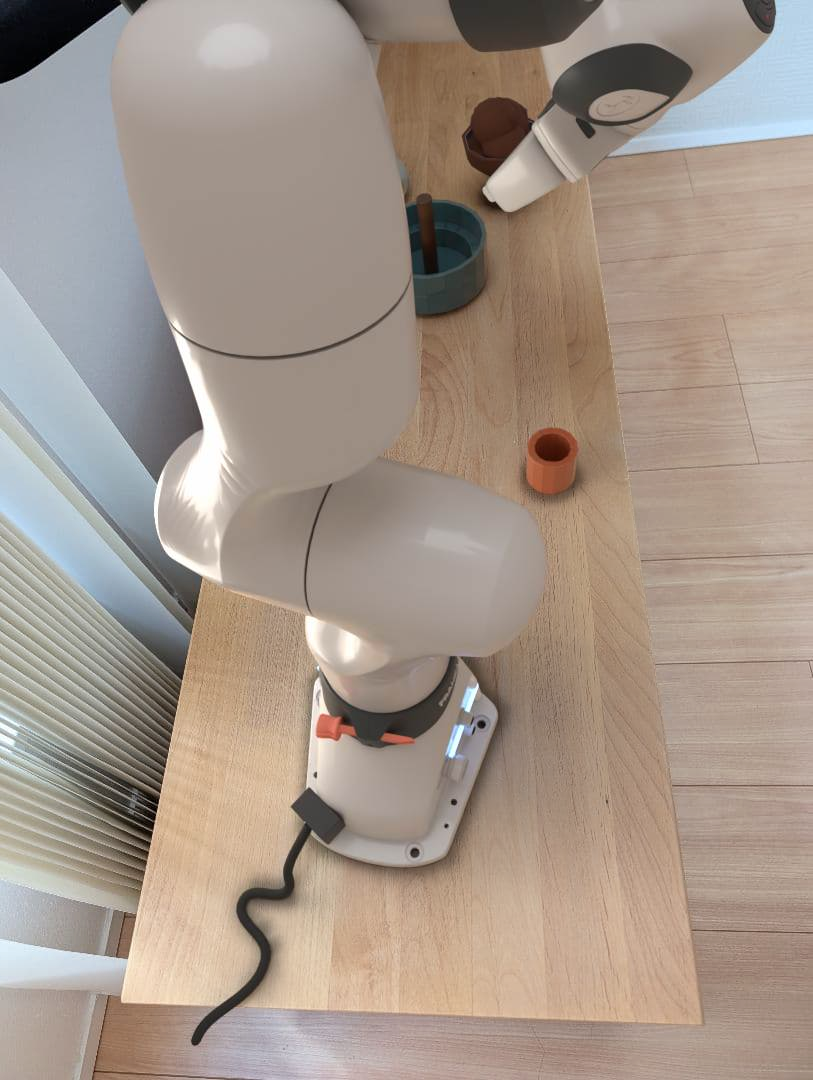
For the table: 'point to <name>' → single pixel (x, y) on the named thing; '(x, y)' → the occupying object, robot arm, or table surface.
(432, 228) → the stick
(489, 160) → the ice cream bowl
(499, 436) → the table surface
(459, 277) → the bowl
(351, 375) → the robot arm
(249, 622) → the table surface
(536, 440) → the holder
